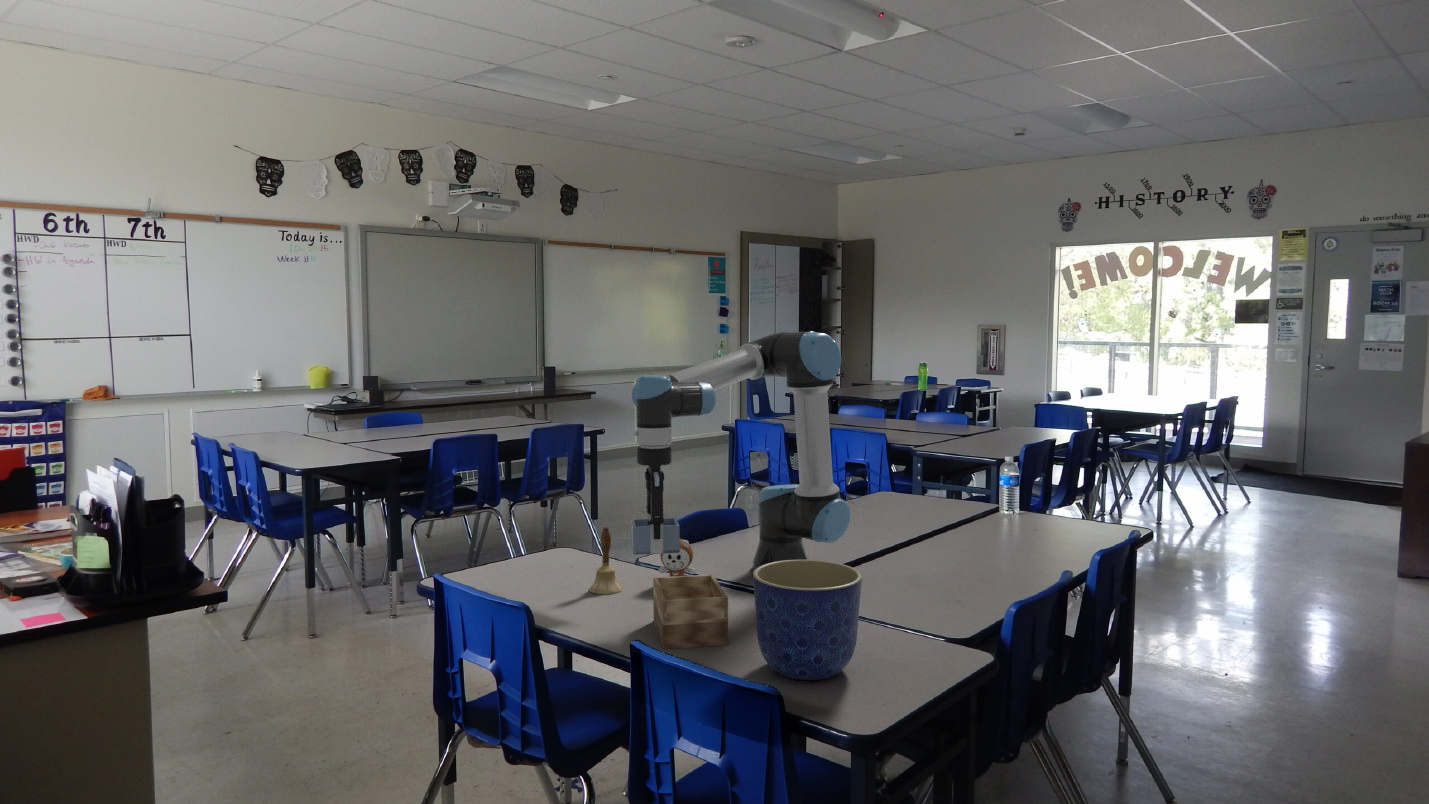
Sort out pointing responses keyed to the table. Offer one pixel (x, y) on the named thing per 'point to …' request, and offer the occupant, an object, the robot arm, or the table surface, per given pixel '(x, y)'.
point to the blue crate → (642, 536)
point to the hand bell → (605, 570)
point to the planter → (807, 616)
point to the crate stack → (690, 611)
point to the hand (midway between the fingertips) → (655, 547)
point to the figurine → (678, 560)
